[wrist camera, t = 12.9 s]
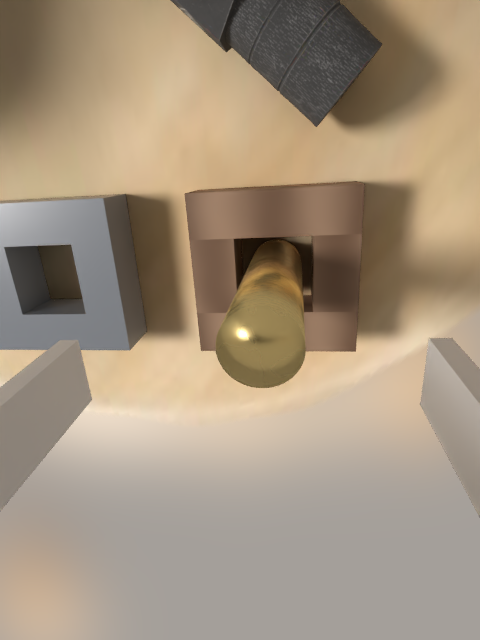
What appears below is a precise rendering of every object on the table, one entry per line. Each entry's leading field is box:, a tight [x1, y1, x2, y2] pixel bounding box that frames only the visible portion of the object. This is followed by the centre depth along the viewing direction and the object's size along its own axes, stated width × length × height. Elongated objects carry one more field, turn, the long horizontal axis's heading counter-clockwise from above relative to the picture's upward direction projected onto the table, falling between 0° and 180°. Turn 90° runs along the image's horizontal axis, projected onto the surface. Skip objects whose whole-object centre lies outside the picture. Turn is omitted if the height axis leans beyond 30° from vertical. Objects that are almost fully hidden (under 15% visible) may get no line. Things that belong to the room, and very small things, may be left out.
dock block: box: [185, 181, 365, 351], centre depth 30 cm, size 12×12×4 cm
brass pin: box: [215, 239, 306, 388], centre depth 25 cm, size 4×4×16 cm
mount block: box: [0, 194, 147, 350], centre depth 33 cm, size 12×12×4 cm
